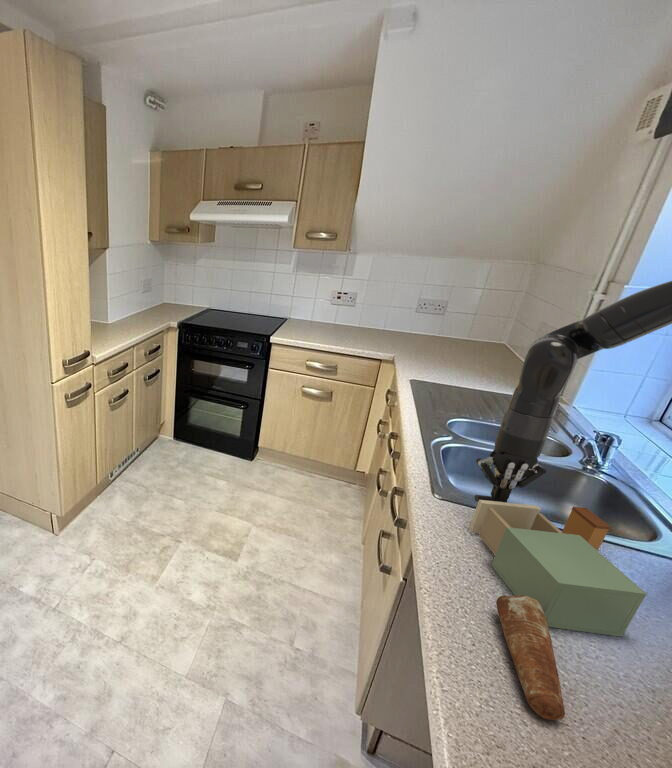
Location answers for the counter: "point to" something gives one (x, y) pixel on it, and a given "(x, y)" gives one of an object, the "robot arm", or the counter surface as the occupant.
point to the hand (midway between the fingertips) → (498, 499)
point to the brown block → (586, 526)
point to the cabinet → (568, 581)
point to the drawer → (505, 520)
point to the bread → (532, 653)
